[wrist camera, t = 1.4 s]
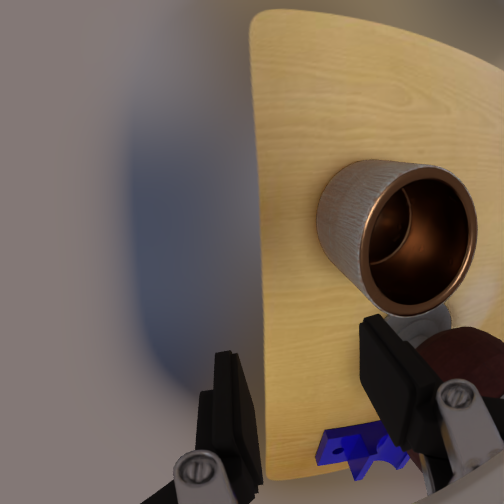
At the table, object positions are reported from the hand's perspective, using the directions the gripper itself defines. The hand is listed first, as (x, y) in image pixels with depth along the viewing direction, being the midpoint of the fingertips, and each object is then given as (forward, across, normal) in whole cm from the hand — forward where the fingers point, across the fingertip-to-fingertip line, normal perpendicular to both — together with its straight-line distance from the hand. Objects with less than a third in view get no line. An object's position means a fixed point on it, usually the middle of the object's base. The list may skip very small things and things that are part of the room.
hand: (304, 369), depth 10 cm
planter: (+18, -10, 0) cm, 20 cm away
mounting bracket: (+18, -12, +34) cm, 40 cm away
